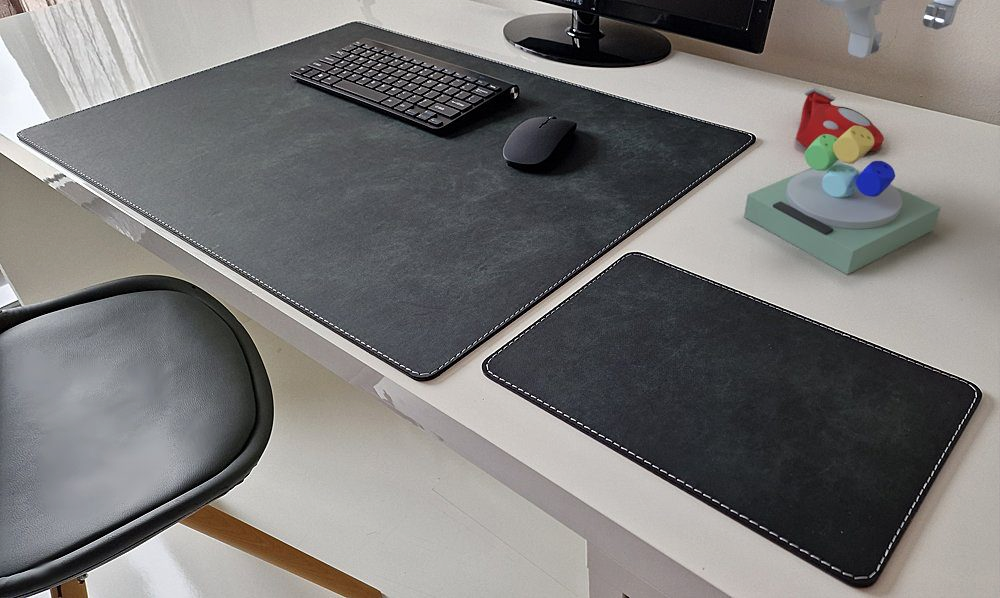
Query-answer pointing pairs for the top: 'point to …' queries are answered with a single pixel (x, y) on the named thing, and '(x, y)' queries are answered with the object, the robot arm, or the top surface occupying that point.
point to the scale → (840, 219)
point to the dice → (848, 150)
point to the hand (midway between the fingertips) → (900, 40)
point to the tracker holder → (830, 119)
